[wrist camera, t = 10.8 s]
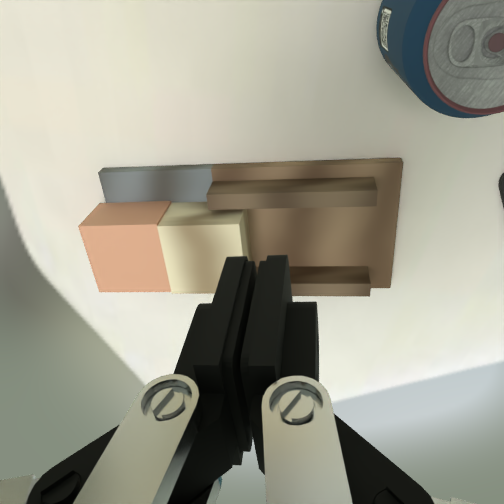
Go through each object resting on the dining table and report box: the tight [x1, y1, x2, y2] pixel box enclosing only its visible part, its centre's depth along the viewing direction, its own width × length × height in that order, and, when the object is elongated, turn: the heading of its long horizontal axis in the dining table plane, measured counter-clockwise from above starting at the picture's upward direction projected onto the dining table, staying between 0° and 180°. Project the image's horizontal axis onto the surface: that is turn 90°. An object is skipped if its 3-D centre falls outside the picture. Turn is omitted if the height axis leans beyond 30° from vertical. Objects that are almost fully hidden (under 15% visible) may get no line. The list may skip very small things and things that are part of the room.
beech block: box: [157, 202, 252, 294], centre depth 35 cm, size 6×6×4 cm
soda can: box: [377, 0, 504, 118], centre depth 23 cm, size 7×7×12 cm
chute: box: [98, 158, 403, 296], centre depth 36 cm, size 23×11×4 cm, turn 94°
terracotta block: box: [78, 201, 171, 292], centre depth 36 cm, size 6×6×4 cm
